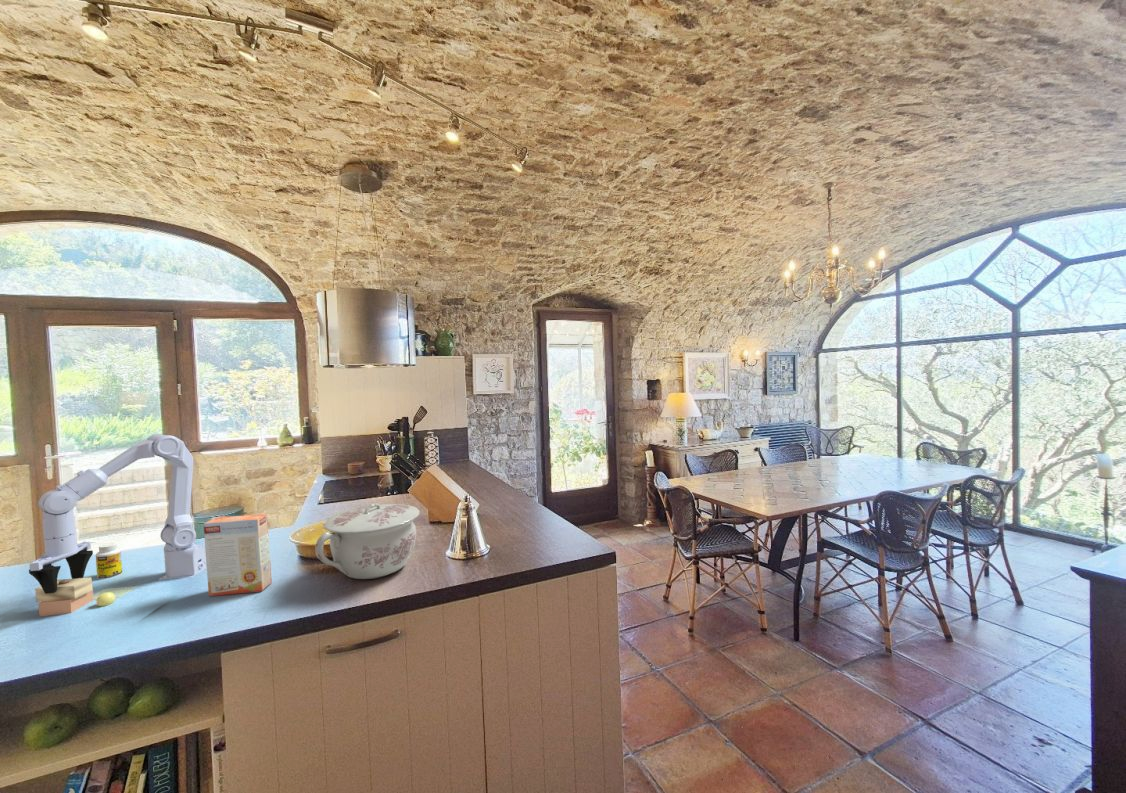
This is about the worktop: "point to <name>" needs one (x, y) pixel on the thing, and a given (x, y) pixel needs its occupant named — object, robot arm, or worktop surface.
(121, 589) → the mat
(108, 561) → the supplement bottle
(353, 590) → the worktop surface
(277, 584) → the worktop surface
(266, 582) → the cracker box
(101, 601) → the yellow ball
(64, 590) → the lid
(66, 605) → the pink open box
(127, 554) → the worktop surface
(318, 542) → the chamber pot
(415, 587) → the worktop surface
